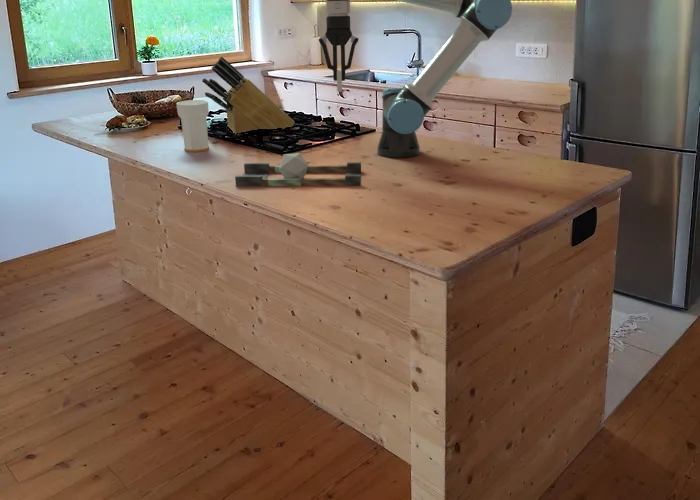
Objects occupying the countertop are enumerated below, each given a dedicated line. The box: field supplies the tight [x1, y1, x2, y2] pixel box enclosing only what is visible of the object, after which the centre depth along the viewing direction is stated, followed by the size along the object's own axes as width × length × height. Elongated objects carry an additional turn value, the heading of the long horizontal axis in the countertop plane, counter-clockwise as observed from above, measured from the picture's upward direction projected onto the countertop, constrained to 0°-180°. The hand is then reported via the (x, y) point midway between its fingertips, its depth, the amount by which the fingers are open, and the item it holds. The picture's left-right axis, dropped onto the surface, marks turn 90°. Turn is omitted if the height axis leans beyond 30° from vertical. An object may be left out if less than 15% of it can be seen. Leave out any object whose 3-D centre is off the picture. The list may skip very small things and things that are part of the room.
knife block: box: [201, 56, 295, 135], centre depth 283 cm, size 11×35×31 cm, turn 114°
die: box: [279, 152, 309, 178], centre depth 217 cm, size 8×9×10 cm
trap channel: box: [234, 161, 362, 187], centre depth 219 cm, size 38×17×3 cm, turn 88°
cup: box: [176, 99, 210, 153], centre depth 256 cm, size 11×11×17 cm
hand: (339, 90), depth 227 cm, fingers closed
